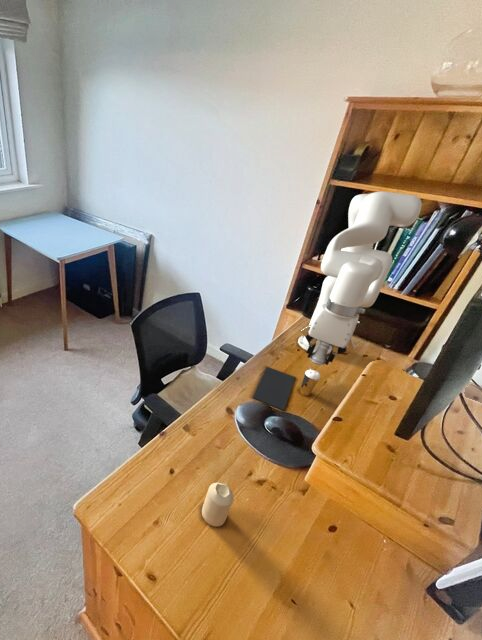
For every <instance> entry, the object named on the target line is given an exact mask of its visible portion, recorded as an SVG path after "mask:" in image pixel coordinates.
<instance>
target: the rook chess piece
mask: <svg viewBox="0 0 482 640" xmlns="http://www.w3.org/2000/svg"><path fill="white" fill-rule="evenodd" d="M329 346H331V347H332V346H333V345H332V344H329V343H326V342H323V341H320V344H319V347H318V349H317V350H316V351H315V352H314V353H312V355H311V357H310V358H309V359H310V361H311V362H312V363H313V364H315V365H318V366H323V365H326V364H325V363H326V361H327V359H328V354H327V350H328V349H329ZM326 354H327V355H326Z"/></svg>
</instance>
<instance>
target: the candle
mask: <svg viewBox="0 0 482 640" xmlns="http://www.w3.org/2000/svg"><path fill="white" fill-rule="evenodd" d="M234 496H235V495H234V493H233V491H232V489H231V488H230V487H229V486H228V485H227V484H224V483H223V482H213V483H211V484H210V485H209V487H208V489H207V492H206V496H205V499H204V501H203V505H202V507H201V516H202V518H203V520H204V521H205V522H206V523H207V524H209V526H211V527H216V528H217V527H221V526H223V525H224V524H225V522H226V521H227V517H228V515H229V513H230V509H231V507H232V505H233V502H234V498H235V497H234Z"/></svg>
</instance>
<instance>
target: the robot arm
mask: <svg viewBox="0 0 482 640" xmlns="http://www.w3.org/2000/svg"><path fill="white" fill-rule="evenodd" d="M422 204H423V203H422V199H421V198H420V197H419V196H417V195H415V194H407V193H400V192H391V191H374V192H370V193H361V194H357V195H355V196H354V197H353V198H352V199H351V201H350V203H349V207H348V213H347V215H348V216H347V217H348V219H347V221H348V228H346V229H344V230H342V231H340V232H339V233H338V234H336V235H335V236H334V237H333V238H332V239H331V240H330V241H329V243H328V245H327V247H326V250H325V252H324V255H323V258H322V260H321V263H320V270H321V273H323V275H325V276H326V277H325V278H324V280H323V282H322V286H321V289H320V294H319V297H318V300H317V303H316V306H315V308H314V311H313V314H312V316H311V318H310V320H309V321H310V322H309V324H308V325H307V326H305V327H303V328H302V329H301V330H300V333H301V334H302V335H301V336H300V337H299V338H298V340H297V344H298V345H299V347H300V348H302V349H303V350H305V351H306V352H305V353H306V354H307V356H306V358H307V359H310V357H311V355H312V353H314V352H315V351H316V350H317V349H318V347H319V344H320V341H323V342H326V343H329V344H332V345H331V346H329V349H328V350H327V354H326V356H327V361H326V363H325V364H324V365H326V366H328V365H329V363H333V361H334V359H335V357H336V356H337V355H339V354H345V353H346V352H347V353H348V352H355V350H356V345H355V342H354V340H353V335H354V333H355V330H356V328H357V325H358V321H359V318H360V315H361V314H362V315H364V314H365V312H366V308H370V307H372V306H373V305H374V304H375V302H376V300H377V299H378V296H379V295H380V292H381V290H382V287H383V285H384V283H385V281H386V279H387V277H388V274H389V272H390V269H391V267H392V265H393V264H392V263H393V256H392V254H391V253H389V252H387V251H384V250H379V249H373V246H374V245H373V244H377V243H379V242H381V241H382V240H384V239H385V237H386V236H387V234H388V231H389V227H390V226H392V227H398V228H399V227H400V228H405V227H409V226H411V225H412V224H414V223H415V222H416V220H417V219H418V217H420V213H421V211H422ZM332 346H333V347H332Z"/></svg>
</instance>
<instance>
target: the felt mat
mask: <svg viewBox="0 0 482 640" xmlns="http://www.w3.org/2000/svg"><path fill="white" fill-rule="evenodd" d="M295 379H296V377H295V376H293V375H290V374H288V373H286V372H282V371H279V370H278V369H277V370H276V369H275V368H272V367H268V366H266V367H265V370H264V372H263V374H262V376H261V378H260V380H259V383H258V384H257V387H256V389H255V391H254V393H253V395H252V399H254V400H257V401H258V402H261V403H264V404H266V405H268V406H271V407H274V408H276V409H278V410H280V411H283V412H284V411H285V409H286V406H287V404H288V400H289V397H290V394H291V391H292V388H293V386H294V382H295Z"/></svg>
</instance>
